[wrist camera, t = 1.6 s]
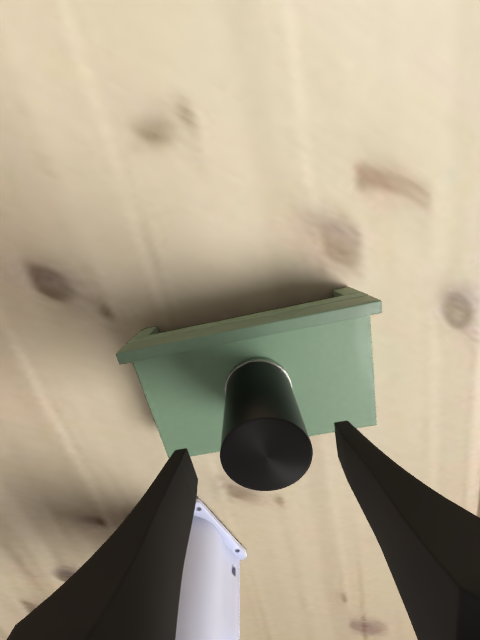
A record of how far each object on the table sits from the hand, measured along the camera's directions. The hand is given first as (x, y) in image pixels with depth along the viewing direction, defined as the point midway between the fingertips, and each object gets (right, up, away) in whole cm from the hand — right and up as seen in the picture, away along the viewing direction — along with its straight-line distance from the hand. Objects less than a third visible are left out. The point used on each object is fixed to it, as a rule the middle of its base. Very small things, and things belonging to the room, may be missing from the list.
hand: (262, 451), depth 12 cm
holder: (0, +2, +6) cm, 6 cm away
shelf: (0, +3, +8) cm, 9 cm away
